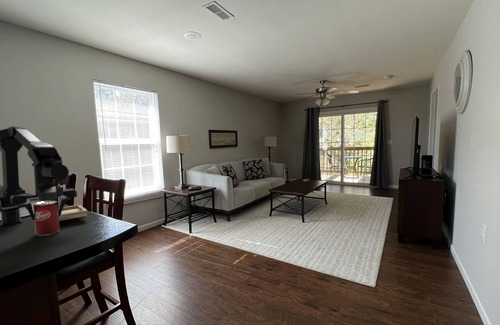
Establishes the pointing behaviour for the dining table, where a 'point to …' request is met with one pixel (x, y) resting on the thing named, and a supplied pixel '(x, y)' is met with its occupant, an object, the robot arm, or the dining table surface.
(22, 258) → the dining table surface
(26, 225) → the dining table surface
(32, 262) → the dining table surface
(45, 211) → the soda can
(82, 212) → the dolly
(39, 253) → the dining table surface
